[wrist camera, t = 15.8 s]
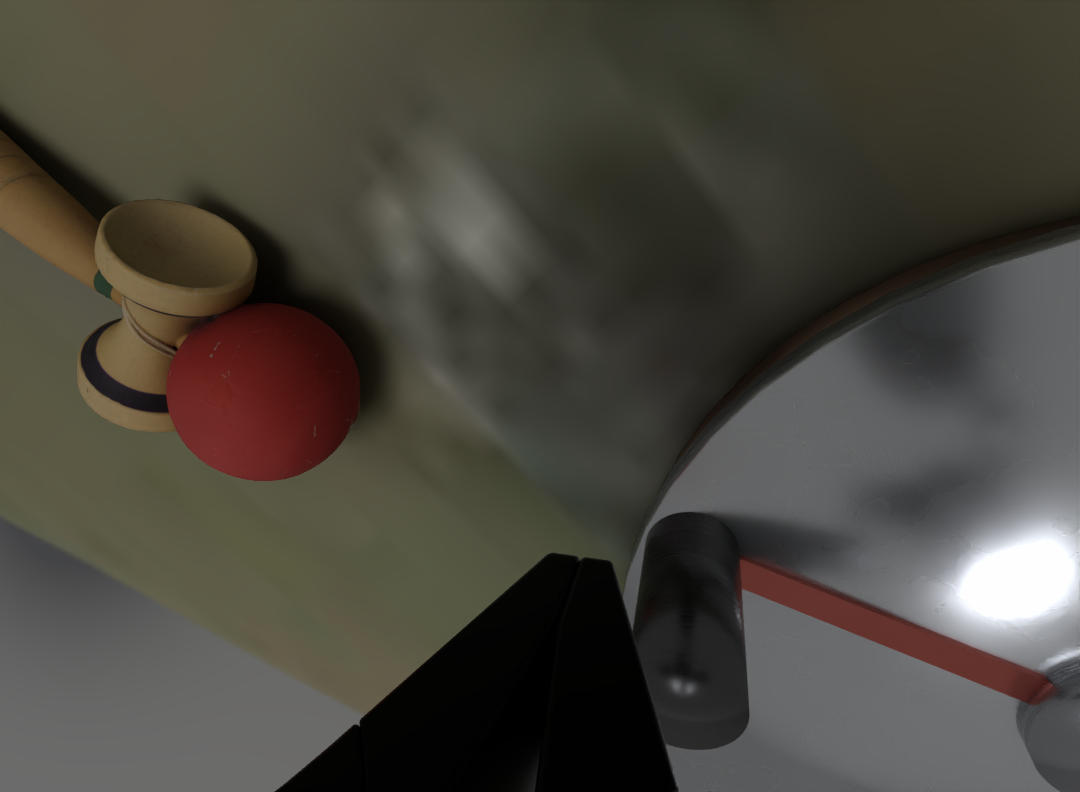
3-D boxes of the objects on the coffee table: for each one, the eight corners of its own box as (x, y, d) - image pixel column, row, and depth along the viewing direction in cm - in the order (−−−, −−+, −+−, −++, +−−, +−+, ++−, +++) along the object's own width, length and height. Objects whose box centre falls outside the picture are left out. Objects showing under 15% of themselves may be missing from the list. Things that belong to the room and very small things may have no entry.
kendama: (6, 228, 27) (329, 498, 25) (-198, 221, 21) (213, 573, 19) (66, 58, 24) (428, 347, 23) (-145, -7, 18) (330, 380, 17)
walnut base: (661, 196, 18) (656, 207, 17) (2148, 204, 12) (2391, 225, 10) (629, 796, 30) (625, 839, 29) (1362, 958, 24) (1413, 1026, 22)
